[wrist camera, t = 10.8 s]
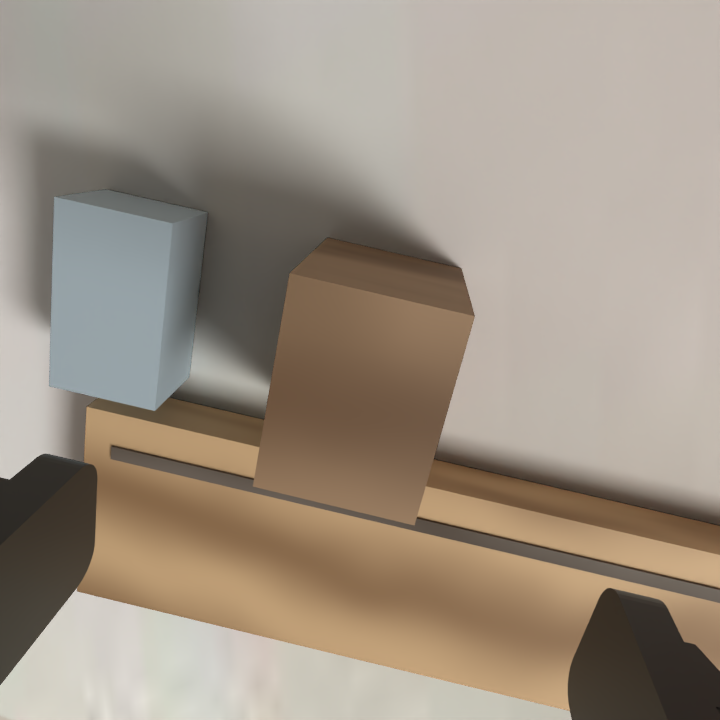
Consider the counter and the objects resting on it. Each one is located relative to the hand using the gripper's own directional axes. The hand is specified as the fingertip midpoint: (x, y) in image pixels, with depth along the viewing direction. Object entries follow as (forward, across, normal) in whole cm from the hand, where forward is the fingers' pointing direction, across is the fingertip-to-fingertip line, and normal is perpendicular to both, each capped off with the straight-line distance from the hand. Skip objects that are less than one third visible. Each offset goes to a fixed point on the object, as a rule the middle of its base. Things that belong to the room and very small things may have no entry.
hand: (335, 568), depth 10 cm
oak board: (+12, -4, +8) cm, 15 cm away
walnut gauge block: (+12, 0, 0) cm, 12 cm away
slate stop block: (+12, +8, 0) cm, 15 cm away
